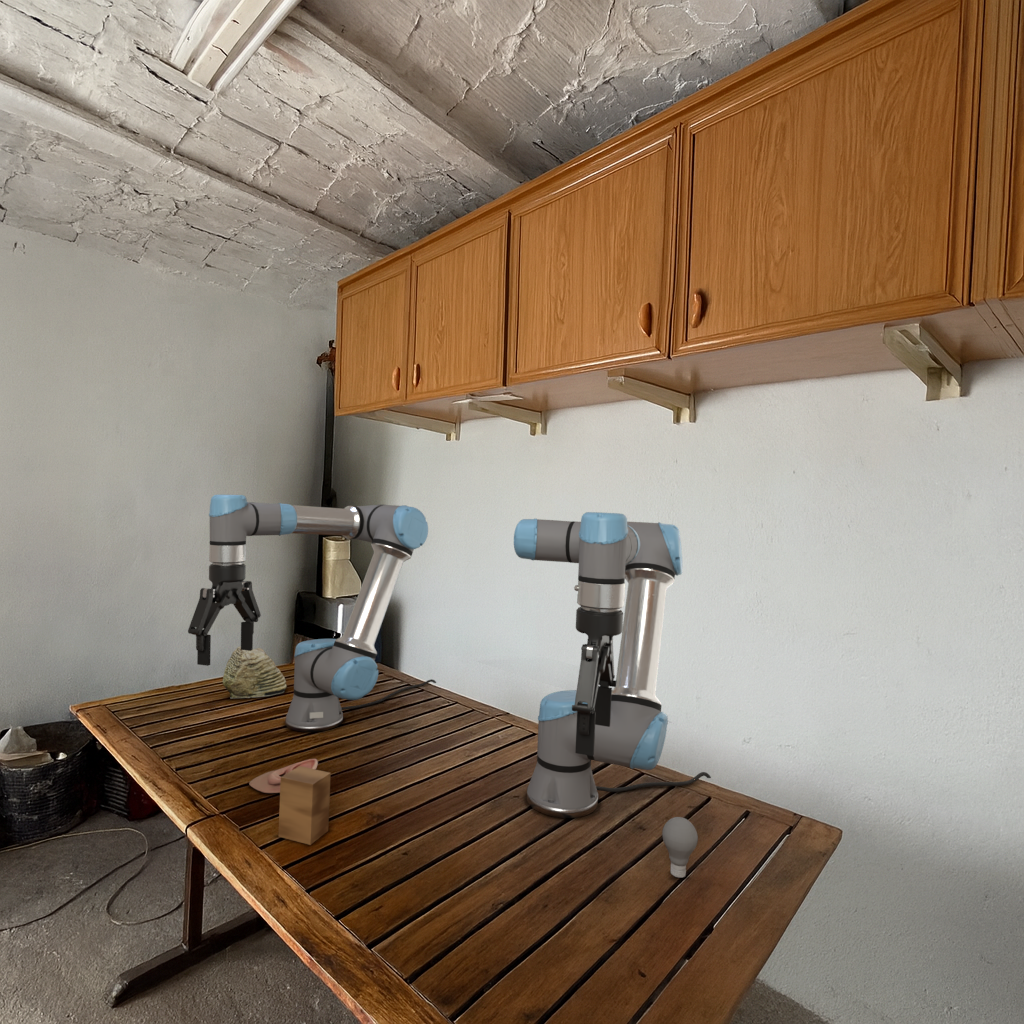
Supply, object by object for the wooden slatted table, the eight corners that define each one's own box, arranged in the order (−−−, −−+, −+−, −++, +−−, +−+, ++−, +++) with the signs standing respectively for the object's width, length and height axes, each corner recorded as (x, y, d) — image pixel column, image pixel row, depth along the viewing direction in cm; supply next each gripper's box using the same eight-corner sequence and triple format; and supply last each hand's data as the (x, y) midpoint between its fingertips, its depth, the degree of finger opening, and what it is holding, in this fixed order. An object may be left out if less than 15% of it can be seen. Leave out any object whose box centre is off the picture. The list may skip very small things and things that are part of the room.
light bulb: (655, 865, 113) (658, 810, 113) (688, 865, 114) (691, 810, 114) (666, 886, 107) (669, 827, 107) (701, 886, 108) (704, 827, 108)
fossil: (218, 695, 195) (220, 647, 195) (278, 685, 208) (279, 640, 207) (228, 703, 189) (230, 653, 188) (289, 692, 201) (290, 645, 201)
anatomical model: (241, 770, 135) (272, 750, 146) (240, 789, 135) (271, 767, 146) (297, 779, 132) (324, 757, 144) (297, 798, 132) (324, 775, 144)
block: (297, 823, 123) (299, 765, 123) (328, 830, 120) (330, 772, 120) (278, 836, 118) (280, 777, 117) (310, 845, 115) (312, 784, 115)
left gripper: (250, 557, 155) (249, 642, 156) (169, 568, 131) (168, 669, 132) (276, 558, 153) (275, 645, 154) (199, 570, 129) (198, 673, 130)
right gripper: (593, 595, 115) (587, 711, 115) (557, 617, 92) (550, 763, 92) (634, 599, 113) (628, 718, 113) (608, 623, 89) (601, 772, 89)
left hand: (226, 657), depth 143 cm, fingers open, 13 cm apart
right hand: (593, 738), depth 102 cm, fingers open, 13 cm apart
